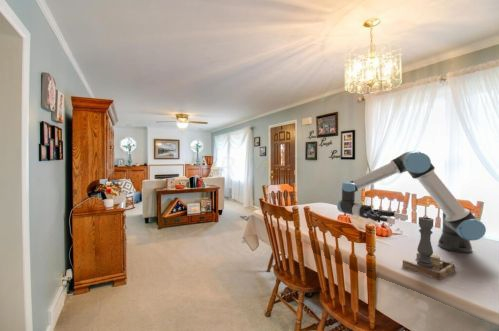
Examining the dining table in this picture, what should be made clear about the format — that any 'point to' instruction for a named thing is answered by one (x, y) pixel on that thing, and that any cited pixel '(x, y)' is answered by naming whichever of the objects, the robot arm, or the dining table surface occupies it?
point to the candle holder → (425, 242)
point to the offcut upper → (435, 258)
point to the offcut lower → (438, 266)
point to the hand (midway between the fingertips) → (401, 219)
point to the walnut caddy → (435, 274)
